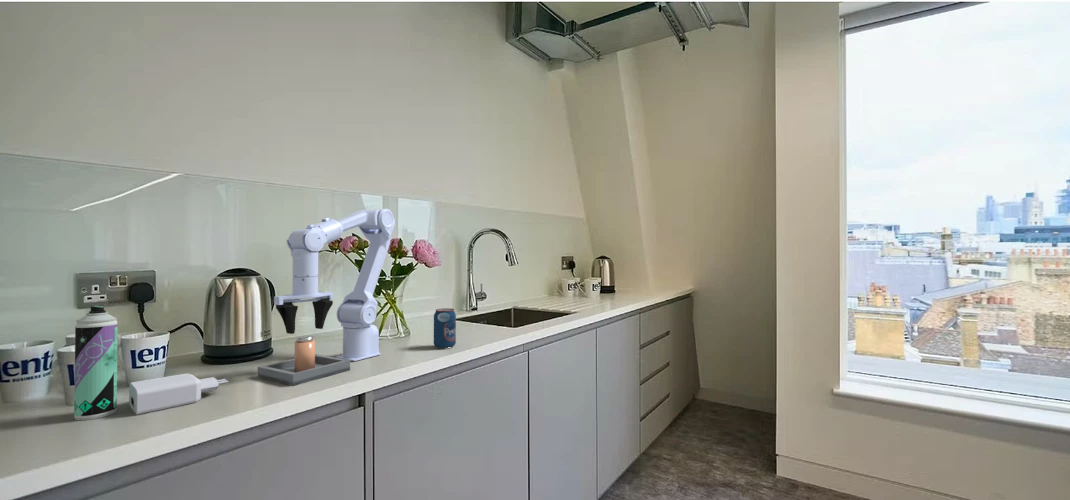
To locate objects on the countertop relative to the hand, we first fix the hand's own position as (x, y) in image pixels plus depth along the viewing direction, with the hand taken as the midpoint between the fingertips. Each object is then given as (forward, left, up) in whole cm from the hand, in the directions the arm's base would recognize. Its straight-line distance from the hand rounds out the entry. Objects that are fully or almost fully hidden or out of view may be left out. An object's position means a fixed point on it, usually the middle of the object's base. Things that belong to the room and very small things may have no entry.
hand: (305, 330), depth 108 cm
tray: (+1, +1, -10) cm, 10 cm away
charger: (+25, -3, -11) cm, 27 cm away
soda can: (-40, +11, -11) cm, 43 cm away
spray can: (+36, -7, -11) cm, 38 cm away
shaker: (+1, +1, -10) cm, 10 cm away
